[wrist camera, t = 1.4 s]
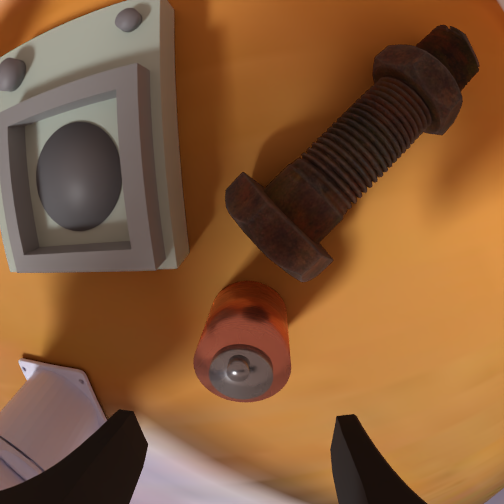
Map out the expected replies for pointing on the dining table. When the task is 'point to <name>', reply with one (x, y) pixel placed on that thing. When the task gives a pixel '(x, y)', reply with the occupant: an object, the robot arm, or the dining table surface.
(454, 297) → the dining table surface
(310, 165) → the bolt
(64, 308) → the dining table surface
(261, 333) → the orange short cylinder
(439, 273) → the dining table surface
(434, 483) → the dining table surface
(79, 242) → the button control panel
